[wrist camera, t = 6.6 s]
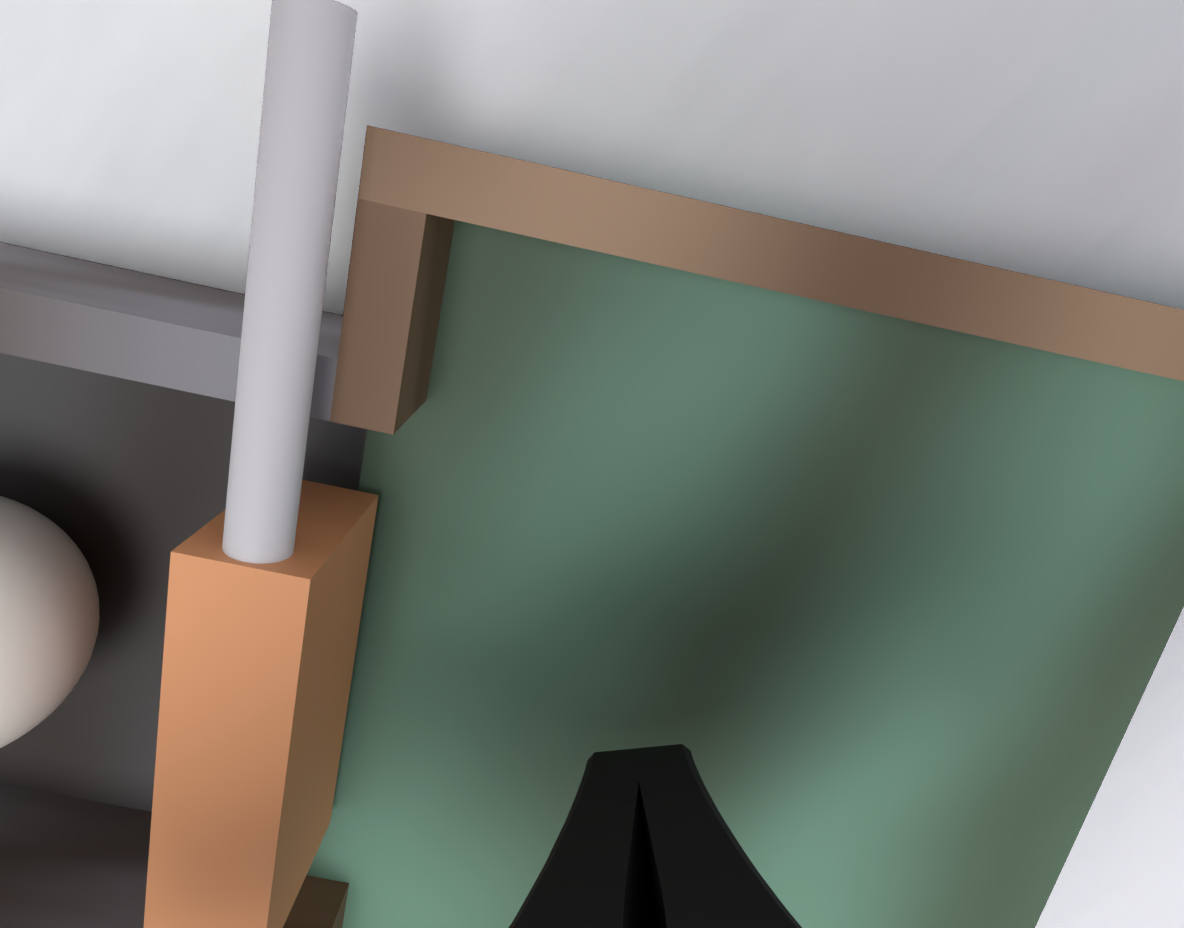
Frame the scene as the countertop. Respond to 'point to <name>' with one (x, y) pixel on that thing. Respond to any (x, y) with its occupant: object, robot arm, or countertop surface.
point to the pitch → (628, 544)
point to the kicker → (266, 548)
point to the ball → (40, 618)
